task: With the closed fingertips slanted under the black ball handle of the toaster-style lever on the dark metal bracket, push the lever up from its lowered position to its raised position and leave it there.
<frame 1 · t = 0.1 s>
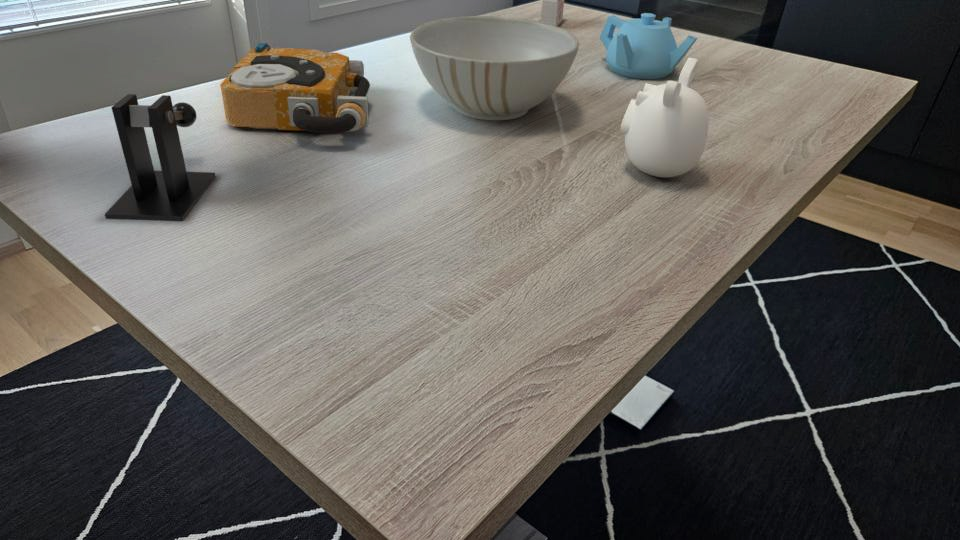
lever: (165, 115, 87), point 9 cm above the table, hinge at -20.0°
teapot: (640, 71, 139), on the table
bracket: (165, 200, 87), on the table
white rectangular block: (551, 25, 168), on the table
decorative bowl: (491, 110, 118), on the table
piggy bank: (655, 174, 99), on the table
device: (305, 117, 112), on the table
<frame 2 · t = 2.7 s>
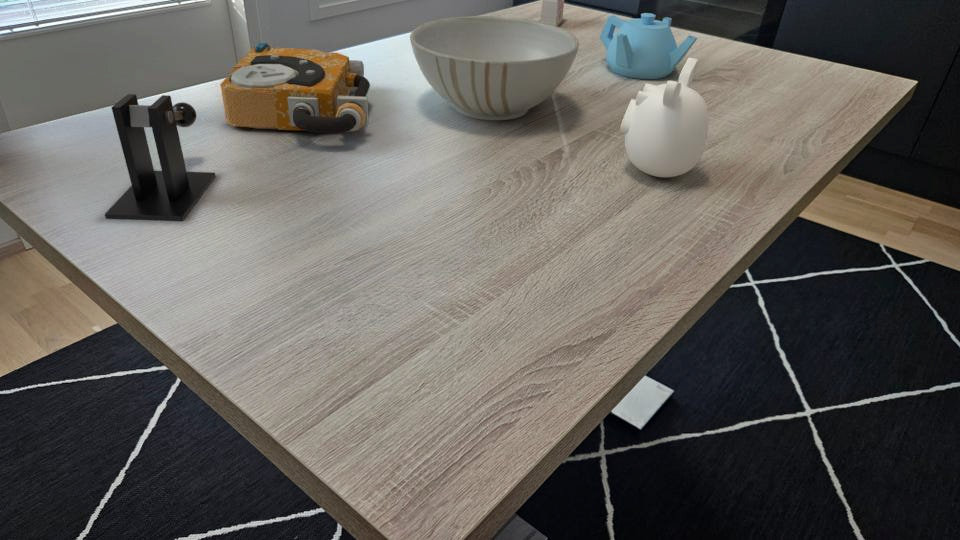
nothing on the table moved.
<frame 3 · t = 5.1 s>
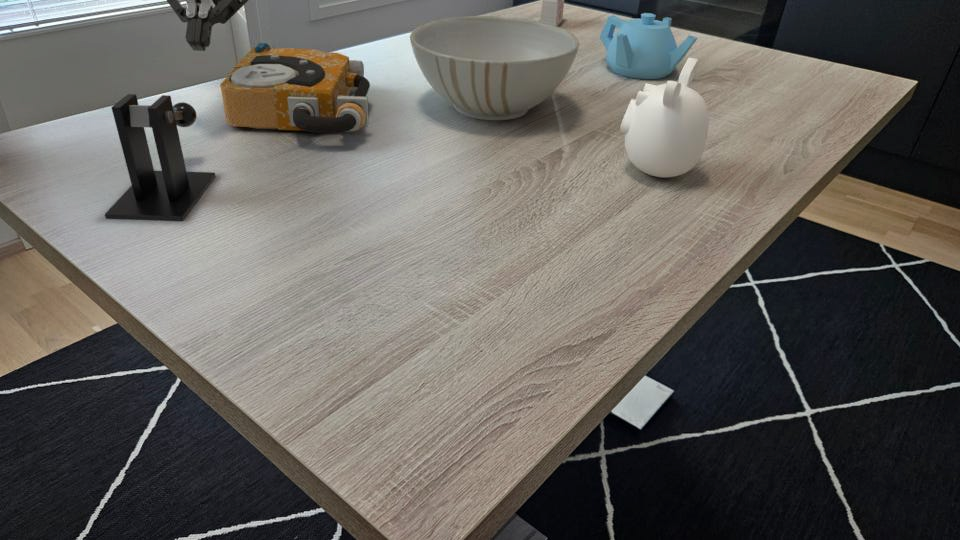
hand: (196, 47, 95), 14 cm above the table, tool tilted 45°, fingers closed
nothing on the table moved.
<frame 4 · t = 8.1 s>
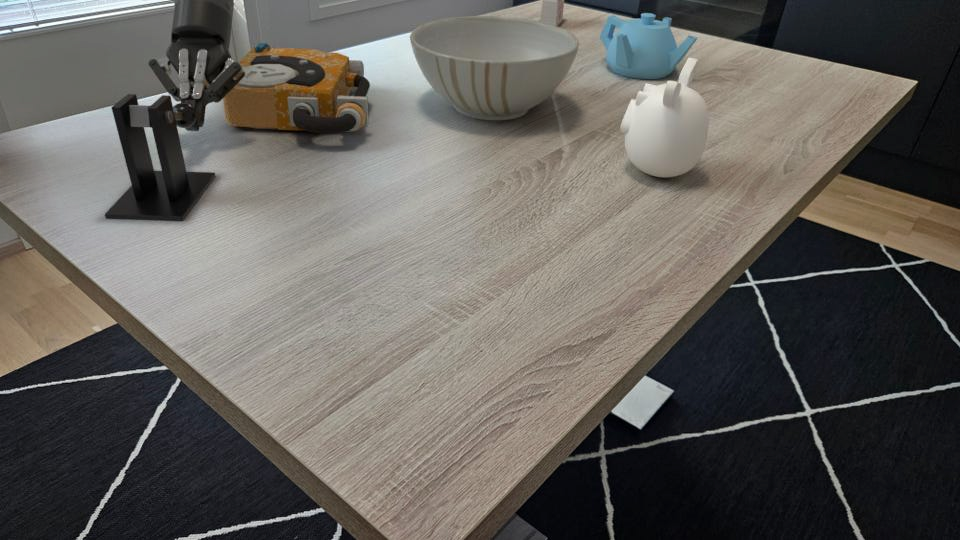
hand: (190, 128, 94), 5 cm above the table, tool tilted 45°, fingers closed
lever: (165, 115, 87), point 9 cm above the table, hinge at -20.5°, touching gripper
everything else where it was.
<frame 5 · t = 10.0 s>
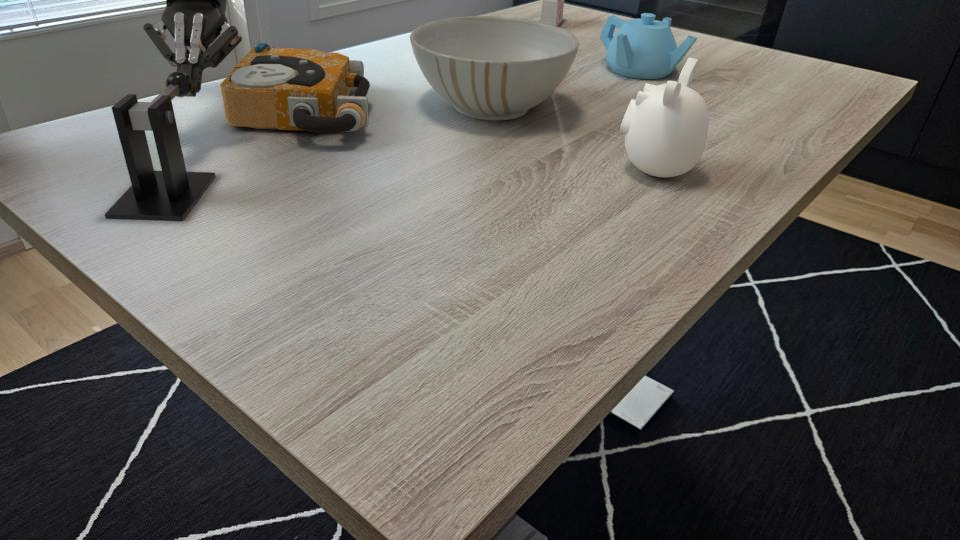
hand: (187, 94, 93), 9 cm above the table, tool tilted 45°, fingers closed
lever: (163, 99, 86), point 11 cm above the table, hinge at 0.5°, touching gripper
everything else where it was.
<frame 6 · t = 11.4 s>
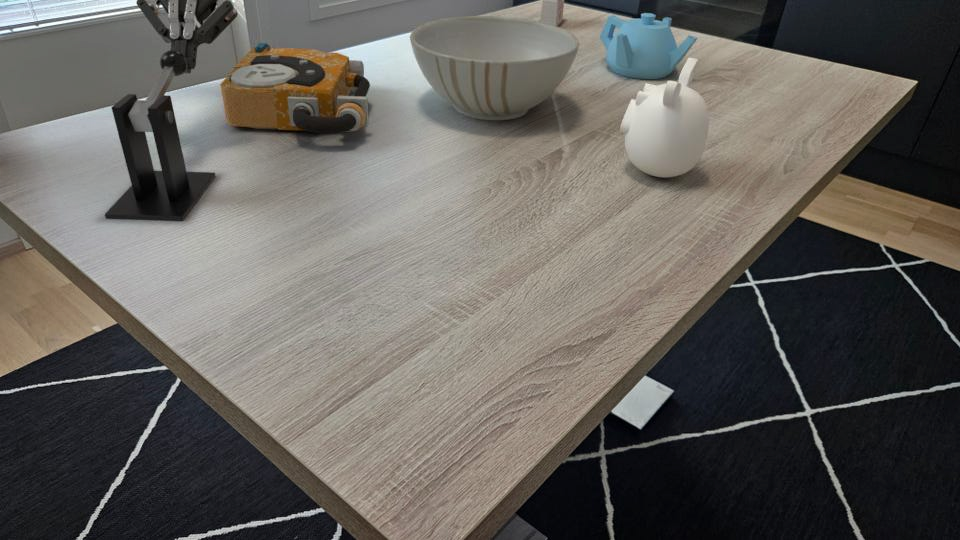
hand: (181, 70, 91), 12 cm above the table, tool tilted 45°, fingers closed
lever: (160, 88, 85), point 12 cm above the table, hinge at 15.4°, touching gripper
everything else where it was.
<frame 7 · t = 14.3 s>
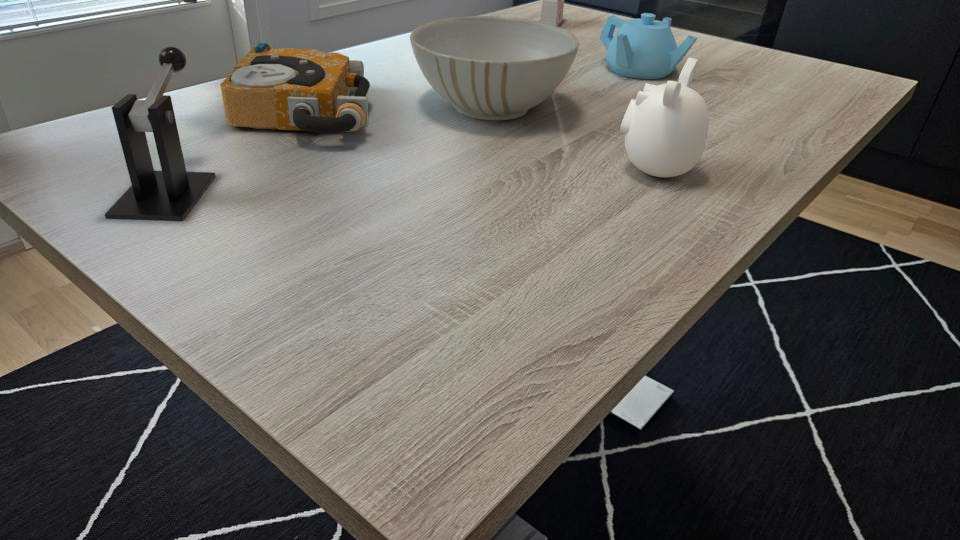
lever: (159, 86, 85), point 13 cm above the table, hinge at 18.1°
everything else where it was.
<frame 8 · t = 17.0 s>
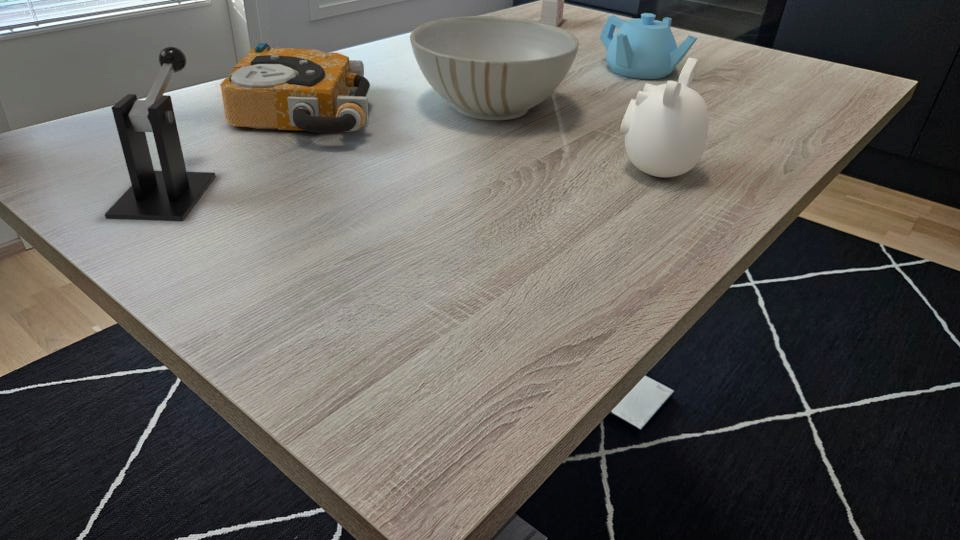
nothing on the table moved.
at the end: lever at +18° (first picture: -20°); lever reached +18° during the clip, +18° at the end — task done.
